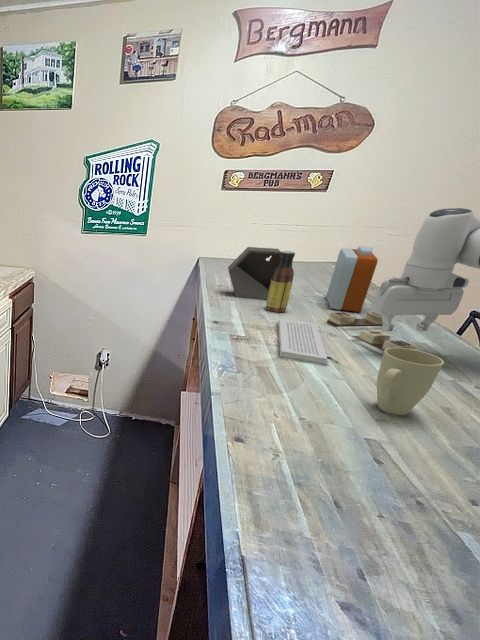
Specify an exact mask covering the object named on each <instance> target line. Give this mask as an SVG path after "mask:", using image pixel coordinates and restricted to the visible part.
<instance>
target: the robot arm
mask: <svg viewBox="0 0 480 640" xmlns="http://www.w3.org/2000/svg"><path fill="white" fill-rule="evenodd" d="M456 264H459V265H464V266H467V267H470V268H473V269H478V270H480V218H478V217H477V216H476V215H475V214H474V211H473V210H472V209H469V208H461V207H455V208H441V209H436V210H434V211H432V212H430V213H429V214H428V215H427V216H426V217H425V218H424V220H423V221H422V223H421V225H420V227H419V229H418V232H417V234H416V236H415V239H414V241H413V244H412V252H411V255H410V257H409V258H408V259H407V261H406V263H405V266H404V267H403V271H402V274H401V276H400V277H389V278H388V279H386V280H384V281H383V282H381V284H380V287H379V288H378V289H377V291H376V292H375V295H374V296H373V299H372V301H371V303H370V306H369V309H370V312H374V313H376V314H379V315H382V316H381V317H382V321H383V326H381V330H382V331H384V332H393V330H394V327H395V324H392V321H391V319H392V320H393V319H395V316H424V317H425V318H423V320H422V321H421V322H417V325H416V327H415V329H416V330H417V331H419V332H427V331H428V330H429V327H430V326H431V325H432V324H433V323H434V322H435V321H436V320H437V319H438V317H439V316H451V315H453V314H454V313H455V312H456V311H458V308H459V306H460V304H461V302H462V299H463V296H464V292H465V291H464V289H465V288H467V286H468V285H469V283H470V280H469V279H468V278H465V277H463V276H461V275H459V274H455V273H453V271H454V270H455V265H456ZM463 288H464V289H463Z"/></svg>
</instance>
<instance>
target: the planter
mask: <svg viewBox="0 0 480 640" xmlns="http://www.w3.org/2000/svg"><path fill="white" fill-rule="evenodd" d="M281 252H282V251H281V250H280V249H279V248H272V247H271V248H270V247H257V246H256V247H255V246H247V247H246V248H245V249H244V250H243V251H242V252H241V253H240V254H239V255H238V257H236V258H235V259H234V260H233V261H232V262H231V263H230V264H229V265H228V266H227V270H228V275H229V277H230V281H231V286H232V289H233V293H234V296H235V297H237V298H244V299H253V300H254V299H255V300H267V298H268V294H269V289H270V284H271V279H272V276H273V273H274V271H275V269H276V268H277V266H278V265H279V261H280V254H281ZM267 259H269V260H267Z"/></svg>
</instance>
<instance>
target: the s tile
mask: <svg viewBox="0 0 480 640" xmlns="http://www.w3.org/2000/svg"><path fill="white" fill-rule="evenodd" d="M387 348H408V349H414V350H417V346H416V345H414V344H411V343H408V342H406V341H404V340H402V339H396V340H395V339H393V340H391V339H389V340H385V341H384V344H383V347H382V349H384V350H385V349H387Z"/></svg>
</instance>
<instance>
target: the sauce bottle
mask: <svg viewBox="0 0 480 640" xmlns="http://www.w3.org/2000/svg"><path fill="white" fill-rule="evenodd" d="M295 256H296V252H295V251H291V250H283V251H281V254H280V261H279V265H278V266H277V268H276V269H275V271H274V273H273V276H272V279H271V284H270V289H269V294H268V298H267V299H266V302H265V304H266V307H265V308H266V310H267V311H270V312H273V313H275V312H276V313H284V312H286V311H287V307H288V304H289V301H290V296H291V290H292V288H293V287H292V286H293V280H294V276H295V274H294V273H295V272H294V269H293V262H294V258H295Z"/></svg>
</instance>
